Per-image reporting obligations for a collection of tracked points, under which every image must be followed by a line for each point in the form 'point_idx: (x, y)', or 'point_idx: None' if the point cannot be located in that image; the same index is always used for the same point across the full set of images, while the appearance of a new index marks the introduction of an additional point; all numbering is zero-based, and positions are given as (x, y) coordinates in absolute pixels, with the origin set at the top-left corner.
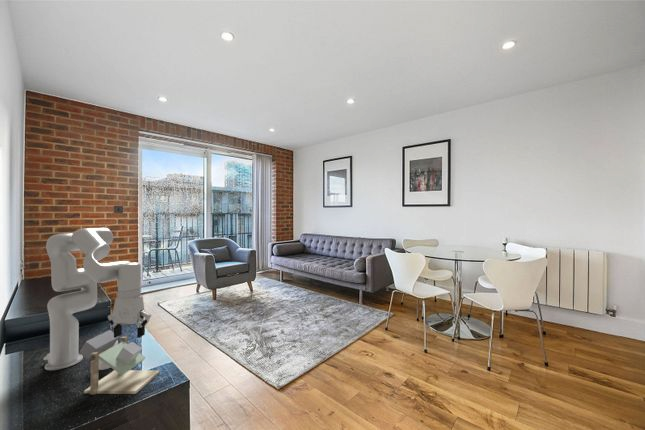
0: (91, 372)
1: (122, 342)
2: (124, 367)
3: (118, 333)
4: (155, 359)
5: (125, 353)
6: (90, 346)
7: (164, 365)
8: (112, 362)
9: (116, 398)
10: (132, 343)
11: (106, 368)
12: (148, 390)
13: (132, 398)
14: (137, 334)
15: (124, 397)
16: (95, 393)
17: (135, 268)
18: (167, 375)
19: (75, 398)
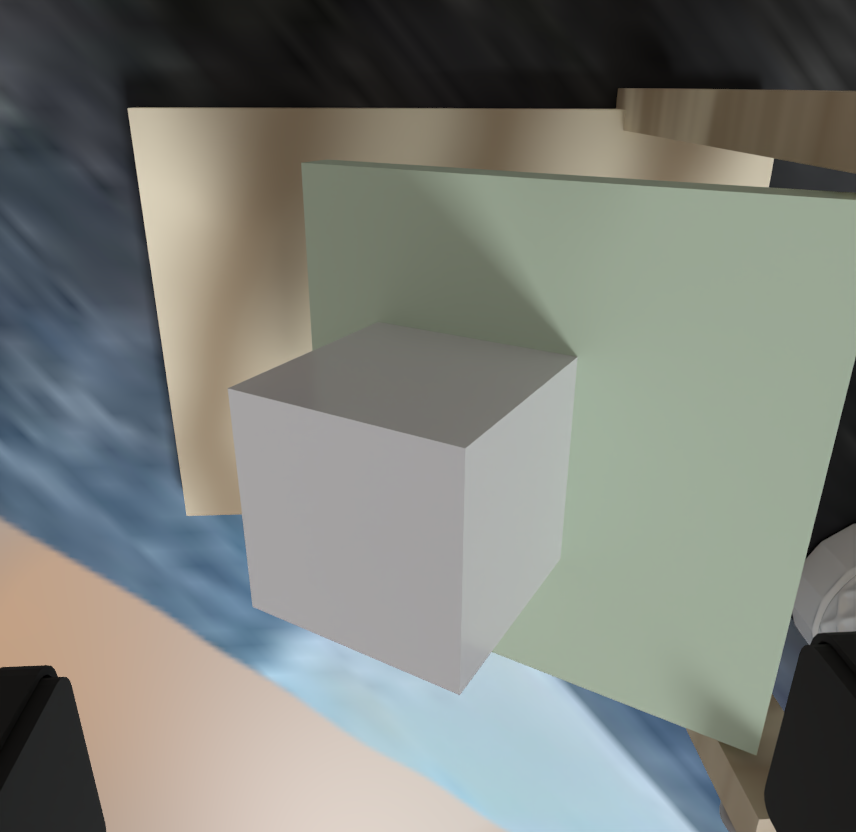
0: (800, 90)
1: (744, 722)
2: (363, 267)
3: (829, 785)
4: (439, 707)
5: (396, 391)
6: None
7: (256, 623)
8: (549, 231)
9: (301, 13)
10: (424, 644)
11: (833, 538)
12: (37, 180)
13: (97, 15)
14: (21, 754)
15: (217, 34)
16: (621, 88)
17: None
18: (64, 462)
19: (799, 8)
